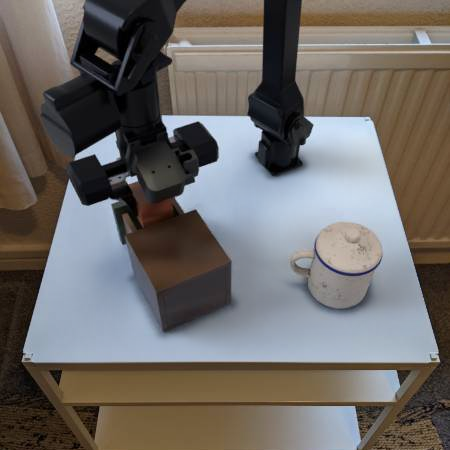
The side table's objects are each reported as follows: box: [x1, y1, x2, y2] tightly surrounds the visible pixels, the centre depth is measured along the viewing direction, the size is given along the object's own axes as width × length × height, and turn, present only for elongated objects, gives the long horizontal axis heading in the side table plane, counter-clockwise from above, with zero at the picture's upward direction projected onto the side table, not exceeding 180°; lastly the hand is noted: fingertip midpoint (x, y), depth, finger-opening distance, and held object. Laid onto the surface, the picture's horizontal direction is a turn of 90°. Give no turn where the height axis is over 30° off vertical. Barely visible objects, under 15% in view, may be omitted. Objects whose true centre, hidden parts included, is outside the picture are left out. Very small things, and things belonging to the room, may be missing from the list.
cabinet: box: [125, 208, 233, 333], centre depth 70 cm, size 11×11×10 cm
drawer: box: [110, 197, 185, 246], centre depth 75 cm, size 14×9×8 cm, turn 28°
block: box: [128, 180, 174, 228], centre depth 70 cm, size 5×5×5 cm
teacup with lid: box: [289, 221, 384, 310], centre depth 70 cm, size 12×9×12 cm
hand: (151, 208), depth 71 cm, fingers closed on block, 4 cm apart
